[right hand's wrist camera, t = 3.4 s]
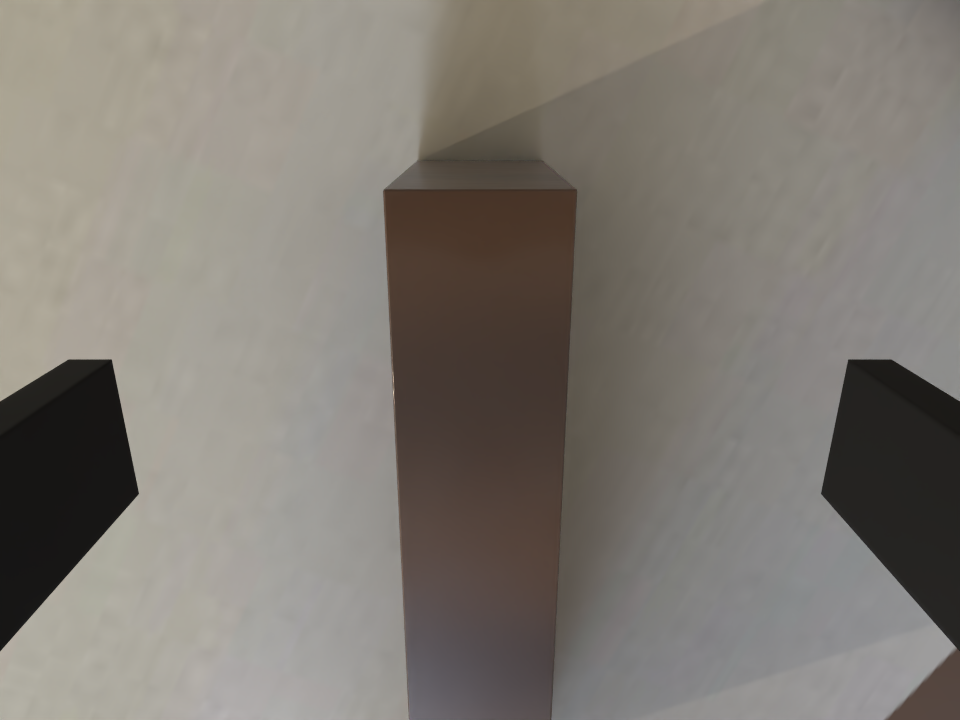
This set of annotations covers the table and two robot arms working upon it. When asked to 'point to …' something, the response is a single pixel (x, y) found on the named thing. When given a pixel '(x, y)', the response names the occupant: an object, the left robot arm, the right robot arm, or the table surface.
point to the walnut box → (480, 428)
